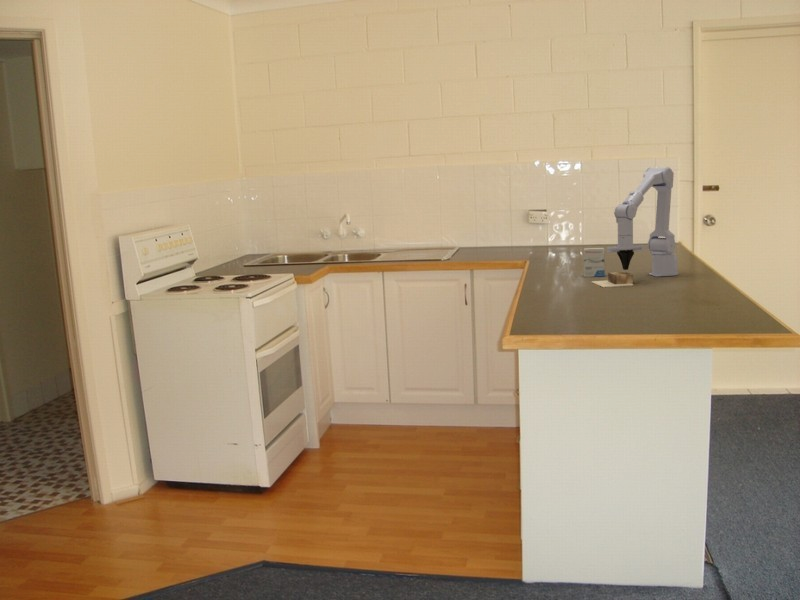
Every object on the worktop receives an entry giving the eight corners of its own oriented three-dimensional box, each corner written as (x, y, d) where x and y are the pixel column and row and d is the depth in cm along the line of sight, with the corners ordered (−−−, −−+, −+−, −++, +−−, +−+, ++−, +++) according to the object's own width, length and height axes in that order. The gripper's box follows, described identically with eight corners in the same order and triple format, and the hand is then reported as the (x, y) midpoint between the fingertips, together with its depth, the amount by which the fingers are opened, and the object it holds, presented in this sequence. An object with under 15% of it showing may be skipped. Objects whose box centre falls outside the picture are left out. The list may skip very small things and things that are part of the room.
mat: (620, 280, 310) (620, 279, 310) (633, 285, 296) (633, 284, 296) (591, 282, 309) (591, 281, 309) (603, 287, 295) (603, 286, 295)
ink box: (604, 274, 326) (604, 247, 324) (604, 276, 322) (604, 248, 320) (584, 275, 329) (583, 247, 327) (583, 277, 324) (583, 249, 322)
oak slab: (625, 271, 306) (608, 272, 306) (632, 274, 298) (615, 275, 298) (625, 280, 307) (608, 281, 306) (632, 283, 299) (615, 284, 298)
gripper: (638, 232, 304) (638, 266, 307) (603, 235, 303) (603, 269, 305) (646, 234, 297) (646, 269, 300) (610, 236, 296) (610, 271, 298)
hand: (625, 269), depth 302 cm, fingers closed
